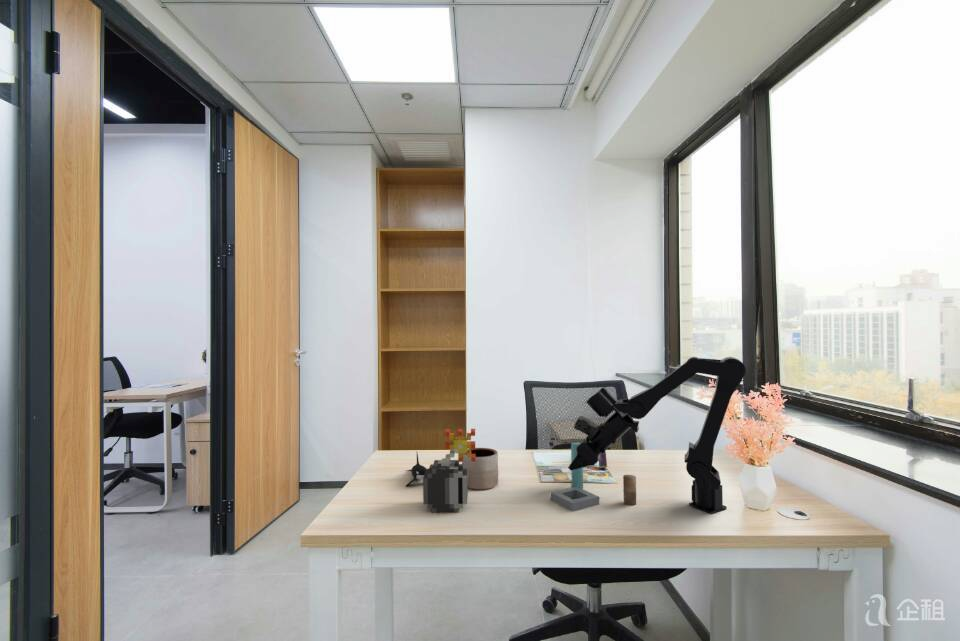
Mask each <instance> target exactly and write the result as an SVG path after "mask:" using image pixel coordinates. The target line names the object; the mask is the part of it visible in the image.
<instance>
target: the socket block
mask: <svg viewBox="0 0 960 641" xmlns="http://www.w3.org/2000/svg"><path fill="white" fill-rule="evenodd" d="M574 498H575V499H574ZM550 501H552V502H554V503H556V504H558V505H560V506H562V507H563V508H566V509H567V510H569V511H571V512H576V511H579V510H583V509H587V508H591V507H595V506H597V505H600V496H599V495H596V494H594V493H592V492H589V491H588V490H585V489H584V488H583V489H581V488H579V487H577V486H576V487H572V486H571V487H568V488H564V489H559V490H555V491H551V492H550Z"/></svg>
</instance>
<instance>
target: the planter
mask: <svg viewBox="0 0 960 641" xmlns="http://www.w3.org/2000/svg"><path fill="white" fill-rule="evenodd" d="M467 450H471V454H475V462H471V457H467V453H463V462H461V464H463V468H467V476H468V489H469V490H473V491H475V490H476V491H484V490H485V491H486V490H491V489H494V488H495V487H496V486H498V484H499V453H498V450H496V449H492V448H489V447H475V449H467Z"/></svg>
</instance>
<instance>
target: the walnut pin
mask: <svg viewBox="0 0 960 641" xmlns="http://www.w3.org/2000/svg"><path fill="white" fill-rule="evenodd" d="M622 477H623V478H622V479H623V480H622V481H623V482H622V483H623V489H622V490H623V491H622V492H623V504H624V505H626V506H631V507H633V506H636V505H637V477H636V476H635V475H633V474H624V475H623V476H622Z"/></svg>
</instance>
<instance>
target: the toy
mask: <svg viewBox="0 0 960 641" xmlns="http://www.w3.org/2000/svg"><path fill="white" fill-rule="evenodd" d="M419 462H420V461H419V455H418V452H416V464H415V465H413V466H412V468H411V469H408V470H405V472H411V475H412V477H413V479H411V481H409V482H408V483H407V484H406V485H405V487H408V486H409V485H411V484H412V483H414V481H416V480H417V481H423V477H424V474H425V471H426V469H427V468H426V466H424V465H422V464H420V463H419Z"/></svg>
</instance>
